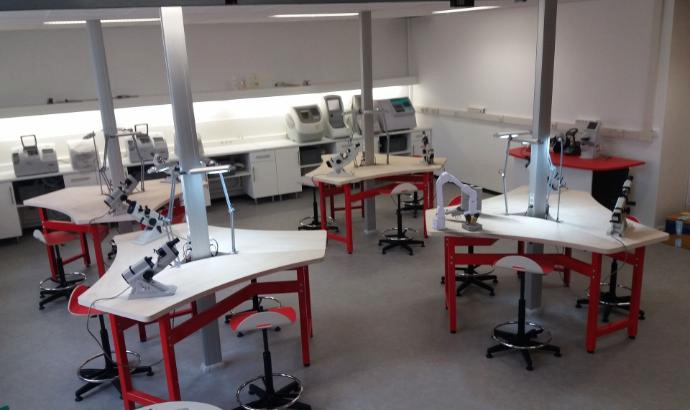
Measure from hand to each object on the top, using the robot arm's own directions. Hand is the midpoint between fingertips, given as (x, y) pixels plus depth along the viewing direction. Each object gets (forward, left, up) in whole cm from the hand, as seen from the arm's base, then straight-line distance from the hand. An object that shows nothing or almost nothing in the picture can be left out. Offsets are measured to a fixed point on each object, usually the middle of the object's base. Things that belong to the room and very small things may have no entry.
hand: (472, 223), depth 442 cm
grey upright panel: (+24, +37, -5) cm, 44 cm away
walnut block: (0, 0, -2) cm, 2 cm away
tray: (0, 0, -4) cm, 4 cm away
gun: (0, +28, -5) cm, 28 cm away
